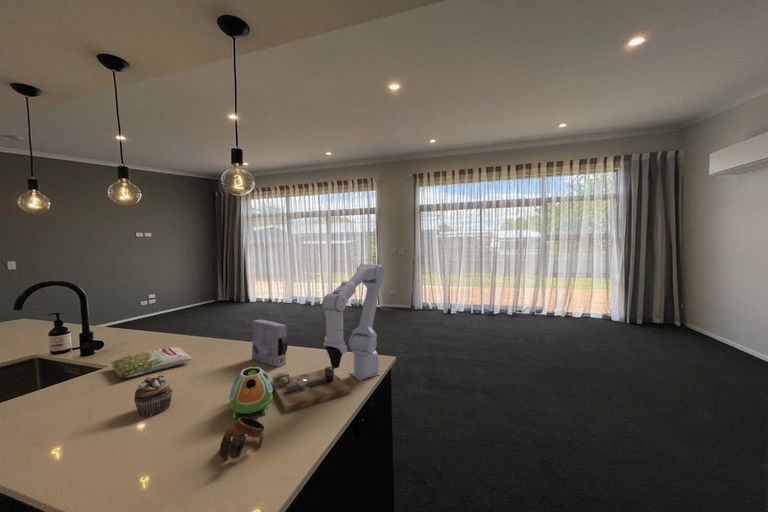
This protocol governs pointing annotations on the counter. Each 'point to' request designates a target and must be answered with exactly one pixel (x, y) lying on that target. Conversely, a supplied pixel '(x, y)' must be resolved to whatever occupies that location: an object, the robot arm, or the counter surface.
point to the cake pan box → (269, 342)
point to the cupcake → (153, 396)
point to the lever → (311, 381)
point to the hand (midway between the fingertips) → (335, 367)
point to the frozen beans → (150, 361)
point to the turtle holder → (250, 392)
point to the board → (307, 390)
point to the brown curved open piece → (239, 436)
